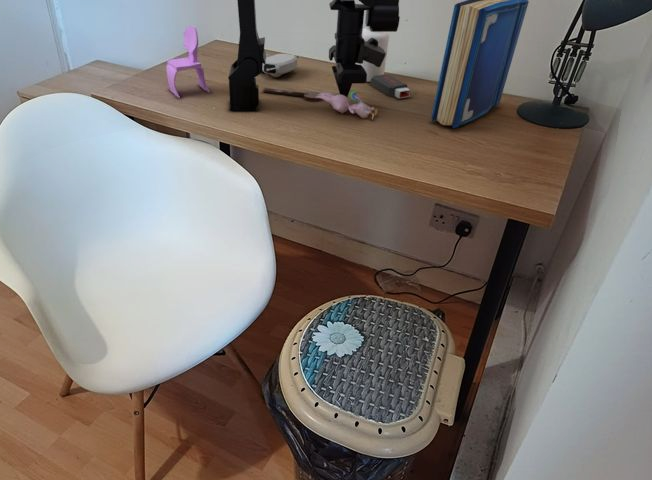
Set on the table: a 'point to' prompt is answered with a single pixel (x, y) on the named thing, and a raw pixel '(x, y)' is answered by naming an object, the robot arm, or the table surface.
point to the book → (477, 59)
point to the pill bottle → (382, 42)
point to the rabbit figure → (347, 104)
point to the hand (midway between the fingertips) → (343, 100)
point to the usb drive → (390, 86)
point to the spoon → (294, 94)
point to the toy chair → (186, 61)
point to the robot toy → (279, 64)
